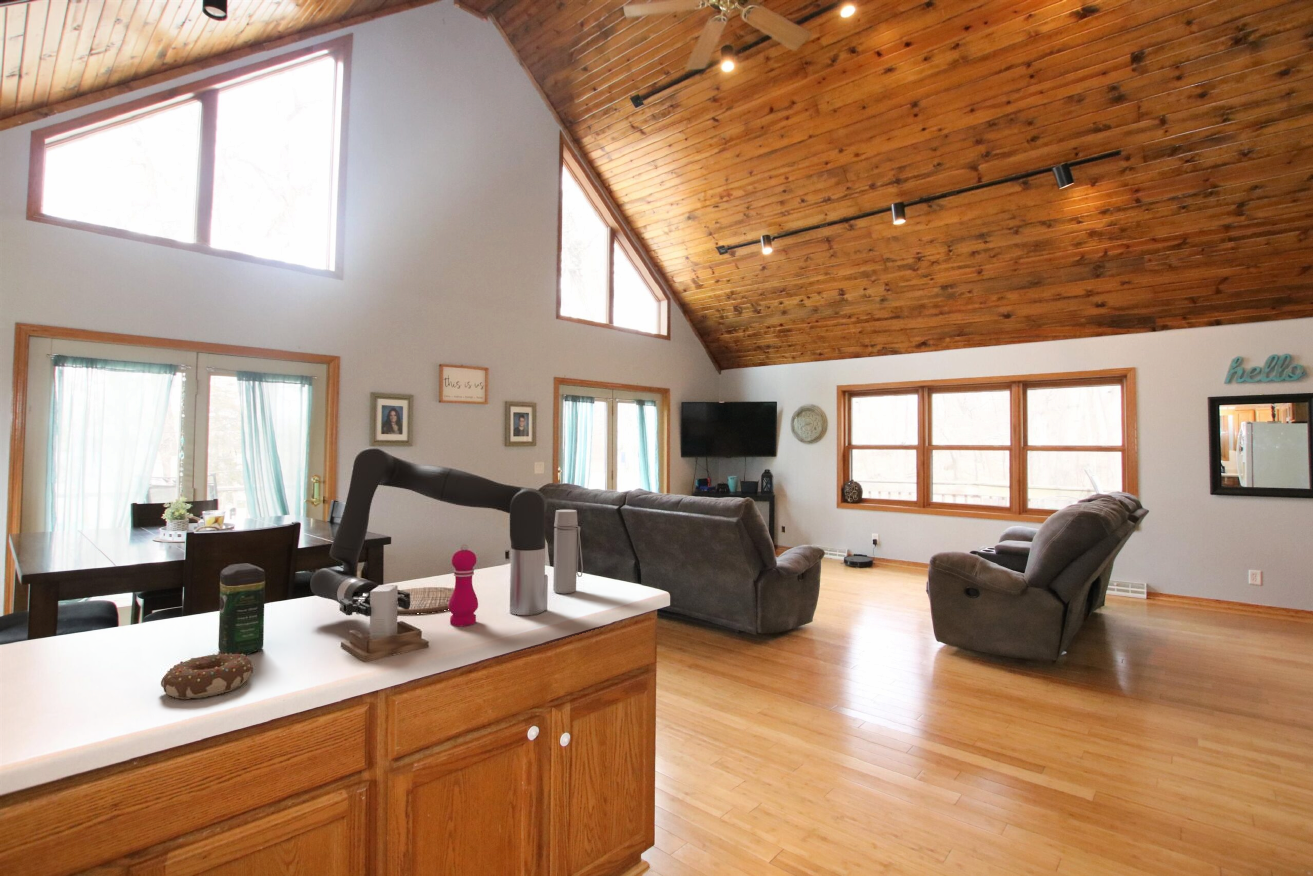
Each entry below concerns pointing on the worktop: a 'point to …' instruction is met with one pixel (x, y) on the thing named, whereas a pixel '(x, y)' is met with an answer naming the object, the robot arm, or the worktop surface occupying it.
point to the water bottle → (566, 551)
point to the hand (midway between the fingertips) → (389, 608)
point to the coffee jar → (241, 609)
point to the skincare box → (383, 611)
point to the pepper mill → (463, 589)
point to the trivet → (427, 600)
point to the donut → (207, 675)
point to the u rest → (385, 643)
